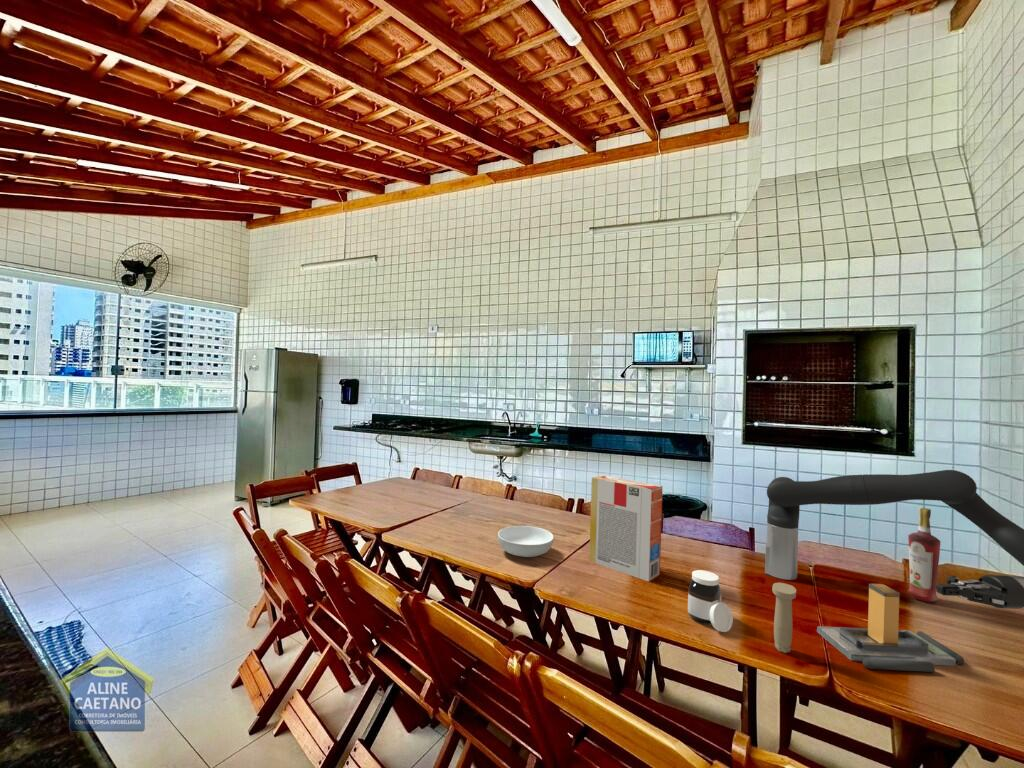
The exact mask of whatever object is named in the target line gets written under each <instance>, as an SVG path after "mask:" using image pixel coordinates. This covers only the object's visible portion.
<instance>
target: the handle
mask: <svg viewBox="0 0 1024 768" xmlns="http://www.w3.org/2000/svg"><path fill="white" fill-rule="evenodd" d="M771 589H772V590H771V591H772V593H773V594H774V596H775V608H774V618H773V619H774V620H773V639H774V647H775V649H776V650H777V651H778V652H782V653H784V654H787V653H790V652H791V650H792V646H791V645H792V643H793V642H792V641H793V631H794V630H793V627H794V626H793V606H792V605H793V600H794V599H796V597H797V589H796V588H795V586H793V585H791V584H788V583H784V582H774V583H773V584H772V588H771Z"/></svg>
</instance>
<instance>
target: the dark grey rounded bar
mask: <svg viewBox="0 0 1024 768" xmlns="http://www.w3.org/2000/svg"><path fill="white" fill-rule="evenodd" d="M915 634H917V635H918V636H920V637H922V638H923V639H925V640H926V641H928V642H929V643H931V644H933V645H934V646H936V647H937V648H939V649H940V650H942V651H944V652H945V653H947V654H948V655H950V656H951V657H953V658H955V659H956V665H957V664H958V665H963V664H964V663H965V659H964V657H963V656H962V655H960V654H959V653H957V652H956V651H953V650H952V649H950V648H949V647H948V646H946V645H944V644H942V643H941V642H939V641H937V640H936V639H935V638H933V637H931V636H930V635H928V634H927V633H925V632H923V631H921V630H920V631H917V632H916V633H915Z"/></svg>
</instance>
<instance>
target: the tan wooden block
mask: <svg viewBox="0 0 1024 768" xmlns="http://www.w3.org/2000/svg"><path fill="white" fill-rule="evenodd" d="M900 595H901V594H900V592H898V591H897V590H895V589H893V588H891V587H889V586H887V585H885V584H884V583H868V616H867V628H868V635H869V636H870V637H871V638H873V639H874V640H876V641H877V642H878V643H889V644H898V630H899V623H900V622H899V620H900V617H899V616H900V615H899V614H900Z"/></svg>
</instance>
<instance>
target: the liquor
mask: <svg viewBox="0 0 1024 768" xmlns="http://www.w3.org/2000/svg"><path fill="white" fill-rule="evenodd" d="M931 513H932V510H931V509H930V508H926V507H919V509H918V515H919V520H918V521H919V522H918V528H917V532H912V533H910V534H908V535H907V537H908V538H907V539H908V562H909V589H908V590H907V592H908V594H909V595H910V596H912V597H913V598H914V599H915V598H916V599H915V600H917V599H918V601H920V600H921V601H920V602H923V601H925V603H928V602H931V603H934V602H935V601H937V600H938V599H939V598H938V596H937V591H936V585H937V584H938V583H937V581H938V572H939V571H938V570H939V565H940V564H939V563H940V552H941V540H940V539H939V538H938V537H936V536H934V535H933V534H932V532H931V522H930V519H931V516H932V514H931Z"/></svg>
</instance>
